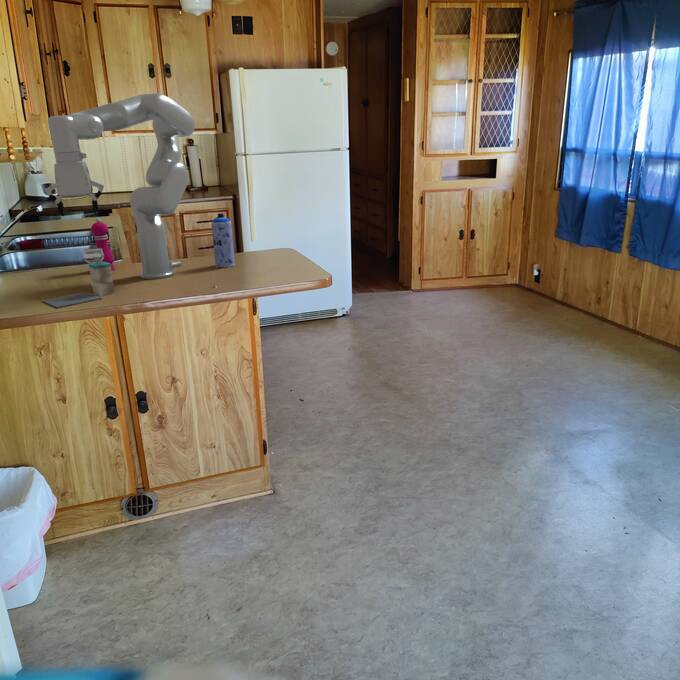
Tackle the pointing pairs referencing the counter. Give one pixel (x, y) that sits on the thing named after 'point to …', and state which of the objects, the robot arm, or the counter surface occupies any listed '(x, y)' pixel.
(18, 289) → the counter surface
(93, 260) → the wineglass
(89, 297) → the rubber mat
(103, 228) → the pepper mill
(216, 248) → the aerosol can
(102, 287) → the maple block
